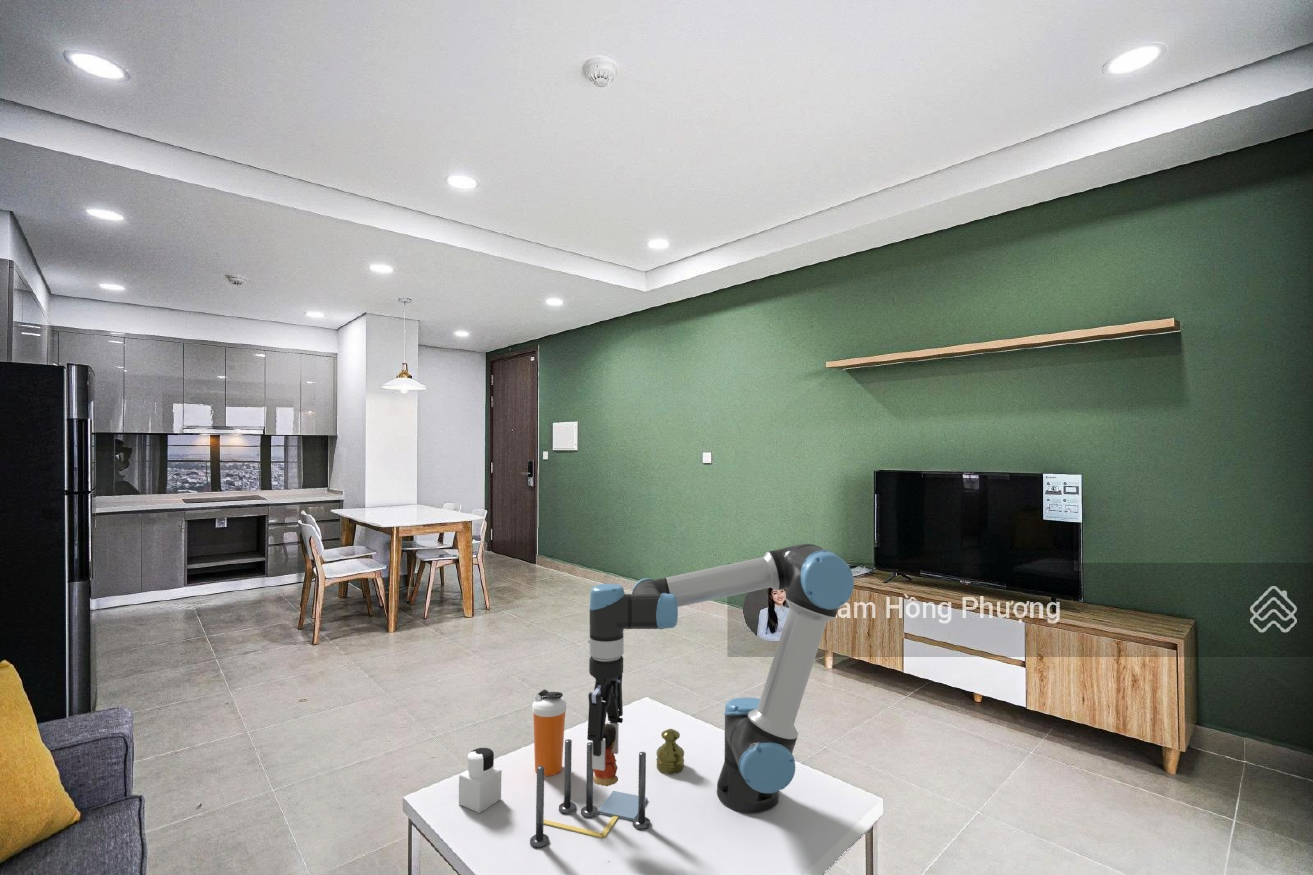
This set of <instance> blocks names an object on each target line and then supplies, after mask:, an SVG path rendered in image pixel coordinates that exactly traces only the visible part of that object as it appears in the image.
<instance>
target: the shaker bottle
mask: <svg viewBox="0 0 1313 875" xmlns="http://www.w3.org/2000/svg"><path fill="white" fill-rule="evenodd" d="M563 696H564V694H563V693H562V692H561V691H548V690H547V689H546V688H545V689H542V690H541V691H539V692H538V693H537V694H535V695H534V701H533V702H532V711H531V712H532V715H533V742H534V743H533V744H534V745H533V747H534V750H533V752H534V771H535V773H536V774H537V767H538V766H544V777H548V776H549V777H550V776H554V775H557V774H559V773H560V772H561V771H562V769H563V758H564V757H563V756H564V755H563V754H564V743H565V725H566V724H565V723H566V712H567V701H566V700H565V698H564V697H563Z"/></svg>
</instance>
